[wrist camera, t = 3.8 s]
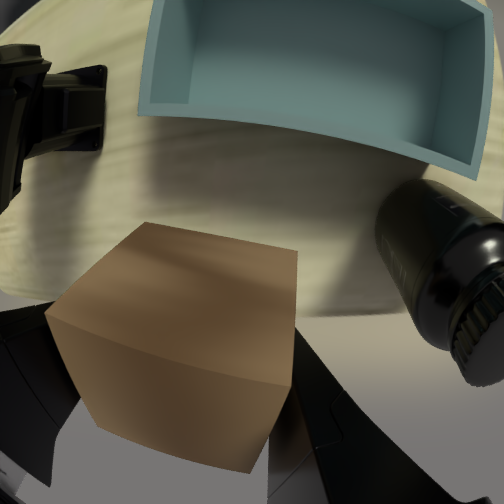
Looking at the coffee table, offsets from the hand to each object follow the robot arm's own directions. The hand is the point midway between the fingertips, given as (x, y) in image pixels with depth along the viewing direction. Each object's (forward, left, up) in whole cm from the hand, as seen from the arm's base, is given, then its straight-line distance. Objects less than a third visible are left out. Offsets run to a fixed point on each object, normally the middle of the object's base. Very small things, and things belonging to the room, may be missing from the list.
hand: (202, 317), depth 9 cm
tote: (+3, +11, -11) cm, 16 cm away
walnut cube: (0, 0, -1) cm, 1 cm away
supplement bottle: (+11, +1, -11) cm, 16 cm away
